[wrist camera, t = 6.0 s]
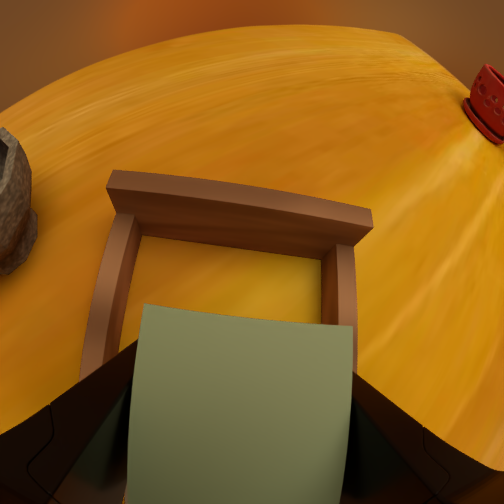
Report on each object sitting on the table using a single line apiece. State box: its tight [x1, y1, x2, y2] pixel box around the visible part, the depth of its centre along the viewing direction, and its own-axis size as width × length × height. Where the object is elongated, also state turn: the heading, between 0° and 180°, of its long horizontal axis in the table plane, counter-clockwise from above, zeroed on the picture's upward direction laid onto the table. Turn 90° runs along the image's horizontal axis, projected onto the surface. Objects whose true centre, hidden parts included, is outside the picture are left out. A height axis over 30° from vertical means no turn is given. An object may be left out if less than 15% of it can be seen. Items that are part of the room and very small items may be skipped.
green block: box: [127, 303, 353, 504], centre depth 9 cm, size 4×4×10 cm
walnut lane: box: [79, 170, 374, 382], centre depth 14 cm, size 15×14×5 cm
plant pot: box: [463, 64, 504, 144], centre depth 32 cm, size 13×13×12 cm
